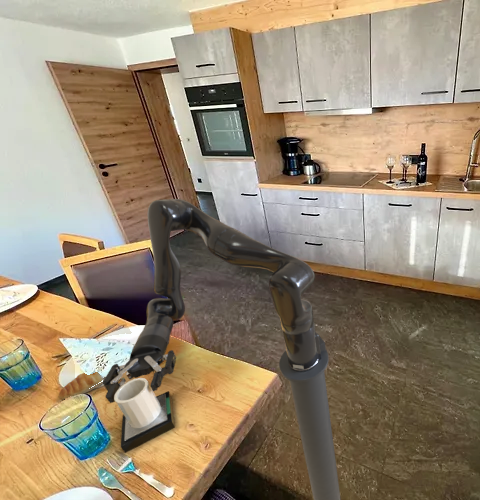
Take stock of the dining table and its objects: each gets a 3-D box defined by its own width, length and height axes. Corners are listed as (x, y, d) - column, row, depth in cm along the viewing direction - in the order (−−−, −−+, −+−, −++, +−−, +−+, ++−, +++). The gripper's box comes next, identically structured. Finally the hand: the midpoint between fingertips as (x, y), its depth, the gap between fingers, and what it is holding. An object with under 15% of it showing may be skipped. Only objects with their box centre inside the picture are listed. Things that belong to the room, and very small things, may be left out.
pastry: (63, 407, 75) (56, 397, 74) (59, 393, 79) (52, 383, 78) (107, 382, 82) (101, 373, 80) (100, 371, 86) (95, 361, 84)
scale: (171, 396, 77) (168, 389, 75) (175, 427, 69) (171, 420, 68) (126, 417, 72) (122, 410, 71) (124, 453, 64) (119, 445, 63)
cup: (160, 398, 73) (147, 373, 69) (161, 418, 68) (147, 392, 64) (130, 412, 70) (115, 386, 66) (129, 433, 65) (112, 408, 61)
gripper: (116, 341, 75) (87, 393, 62) (176, 327, 79) (161, 373, 65) (127, 361, 79) (102, 415, 65) (184, 347, 82) (172, 395, 69)
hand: (132, 394), depth 65 cm, fingers open, 8 cm apart
